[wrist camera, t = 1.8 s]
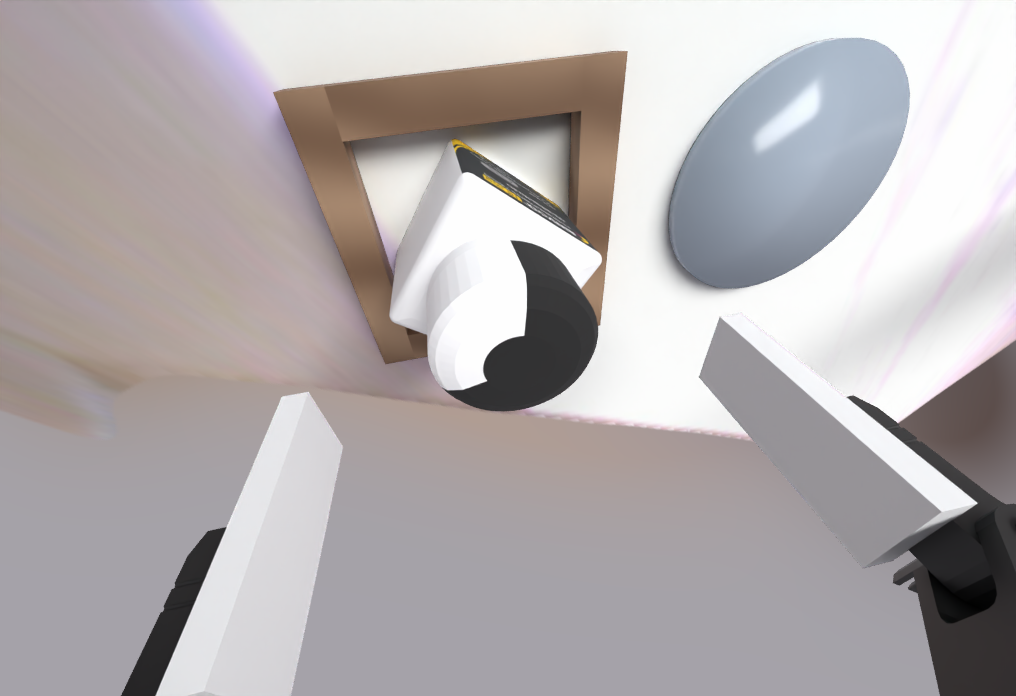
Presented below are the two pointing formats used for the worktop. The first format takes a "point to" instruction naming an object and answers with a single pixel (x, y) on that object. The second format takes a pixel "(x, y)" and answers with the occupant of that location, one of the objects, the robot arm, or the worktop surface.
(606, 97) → the wooden picture frame
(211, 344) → the worktop surface
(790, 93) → the slate plate
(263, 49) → the worktop surface
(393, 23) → the worktop surface
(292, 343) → the worktop surface
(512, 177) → the medicine bottle
